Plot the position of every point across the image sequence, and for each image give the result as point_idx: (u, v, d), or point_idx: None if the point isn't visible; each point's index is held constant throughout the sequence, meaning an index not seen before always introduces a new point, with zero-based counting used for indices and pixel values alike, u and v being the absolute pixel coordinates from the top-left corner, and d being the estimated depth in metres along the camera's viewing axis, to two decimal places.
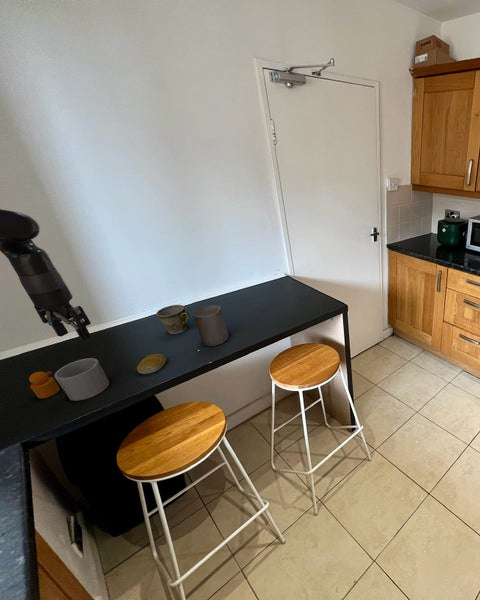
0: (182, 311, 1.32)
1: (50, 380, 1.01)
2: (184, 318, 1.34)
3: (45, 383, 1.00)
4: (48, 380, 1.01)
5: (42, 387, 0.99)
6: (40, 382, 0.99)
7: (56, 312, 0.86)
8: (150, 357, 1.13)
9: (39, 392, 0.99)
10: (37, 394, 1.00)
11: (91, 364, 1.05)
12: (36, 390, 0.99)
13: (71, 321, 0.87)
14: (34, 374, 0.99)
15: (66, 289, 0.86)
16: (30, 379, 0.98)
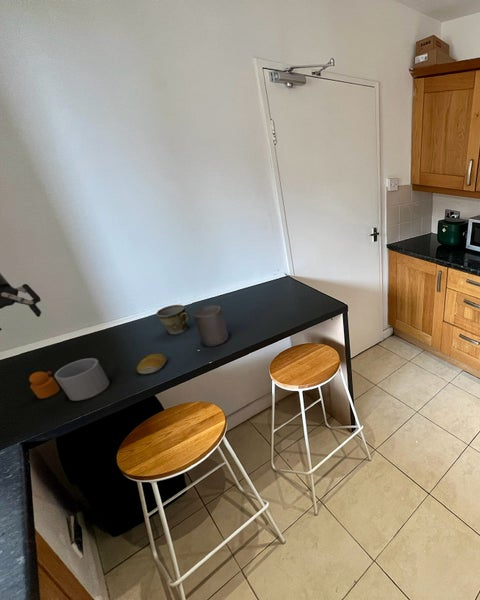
0: (182, 311, 1.32)
1: (50, 380, 1.01)
2: (184, 318, 1.34)
3: (45, 383, 1.00)
4: (48, 380, 1.01)
5: (42, 387, 0.99)
6: (40, 382, 0.99)
7: (5, 292, 0.94)
8: (150, 357, 1.13)
9: (39, 392, 0.99)
10: (37, 394, 1.00)
11: (91, 364, 1.05)
12: (36, 390, 0.99)
13: (23, 298, 0.97)
14: (34, 374, 0.99)
15: None
16: (30, 379, 0.98)
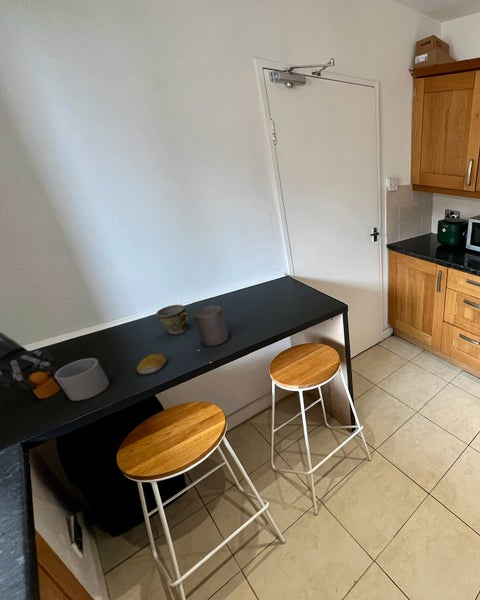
0: (182, 311, 1.32)
1: (50, 380, 1.01)
2: (184, 318, 1.34)
3: (45, 383, 1.00)
4: (48, 380, 1.01)
5: (42, 388, 0.99)
6: (40, 382, 0.99)
7: None
8: (150, 357, 1.13)
9: (39, 392, 0.99)
10: (37, 394, 1.00)
11: (91, 364, 1.05)
12: (36, 390, 0.99)
13: None
14: (33, 374, 0.98)
15: None
16: (29, 379, 0.98)
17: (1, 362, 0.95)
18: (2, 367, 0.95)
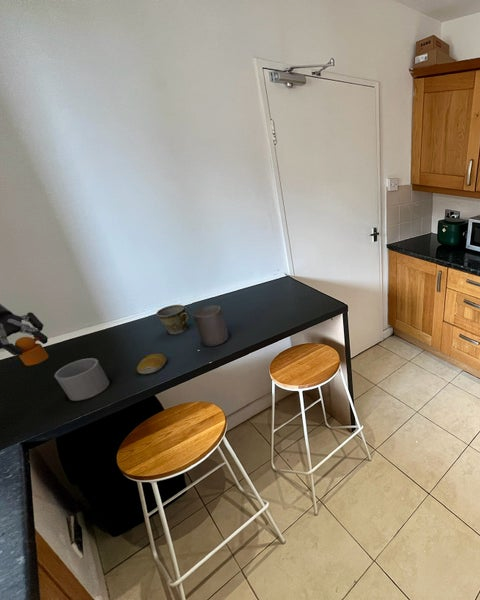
0: (182, 311, 1.32)
1: (38, 346, 0.95)
2: (184, 318, 1.34)
3: (32, 349, 0.94)
4: (35, 346, 0.95)
5: (29, 353, 0.93)
6: (27, 348, 0.93)
7: None
8: (150, 357, 1.13)
9: (26, 358, 0.93)
10: (24, 360, 0.94)
11: (91, 364, 1.05)
12: (22, 356, 0.93)
13: None
14: (20, 339, 0.93)
15: None
16: (16, 344, 0.92)
17: None
18: None
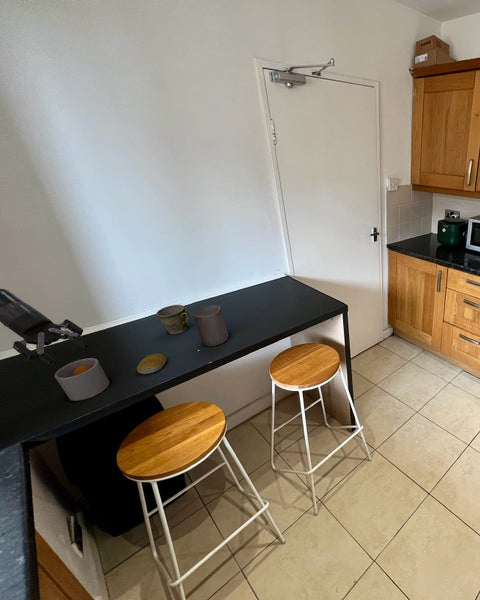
0: (182, 311, 1.32)
1: None
2: (184, 318, 1.34)
3: None
4: None
5: None
6: None
7: None
8: (150, 357, 1.13)
9: None
10: None
11: (91, 364, 1.05)
12: None
13: None
14: (78, 368, 1.00)
15: None
16: (75, 373, 1.00)
17: (28, 334, 0.92)
18: (29, 339, 0.92)
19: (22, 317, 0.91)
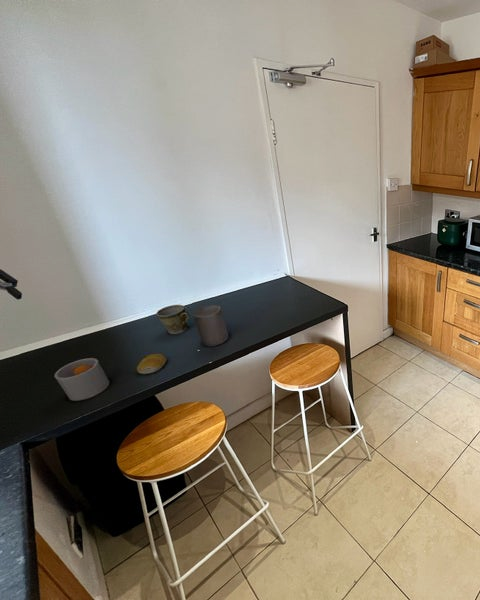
0: (182, 311, 1.32)
1: None
2: (184, 318, 1.34)
3: None
4: None
5: None
6: None
7: None
8: (150, 357, 1.13)
9: None
10: None
11: (91, 364, 1.05)
12: None
13: None
14: (78, 368, 1.00)
15: None
16: (75, 373, 1.00)
17: None
18: None
19: None
